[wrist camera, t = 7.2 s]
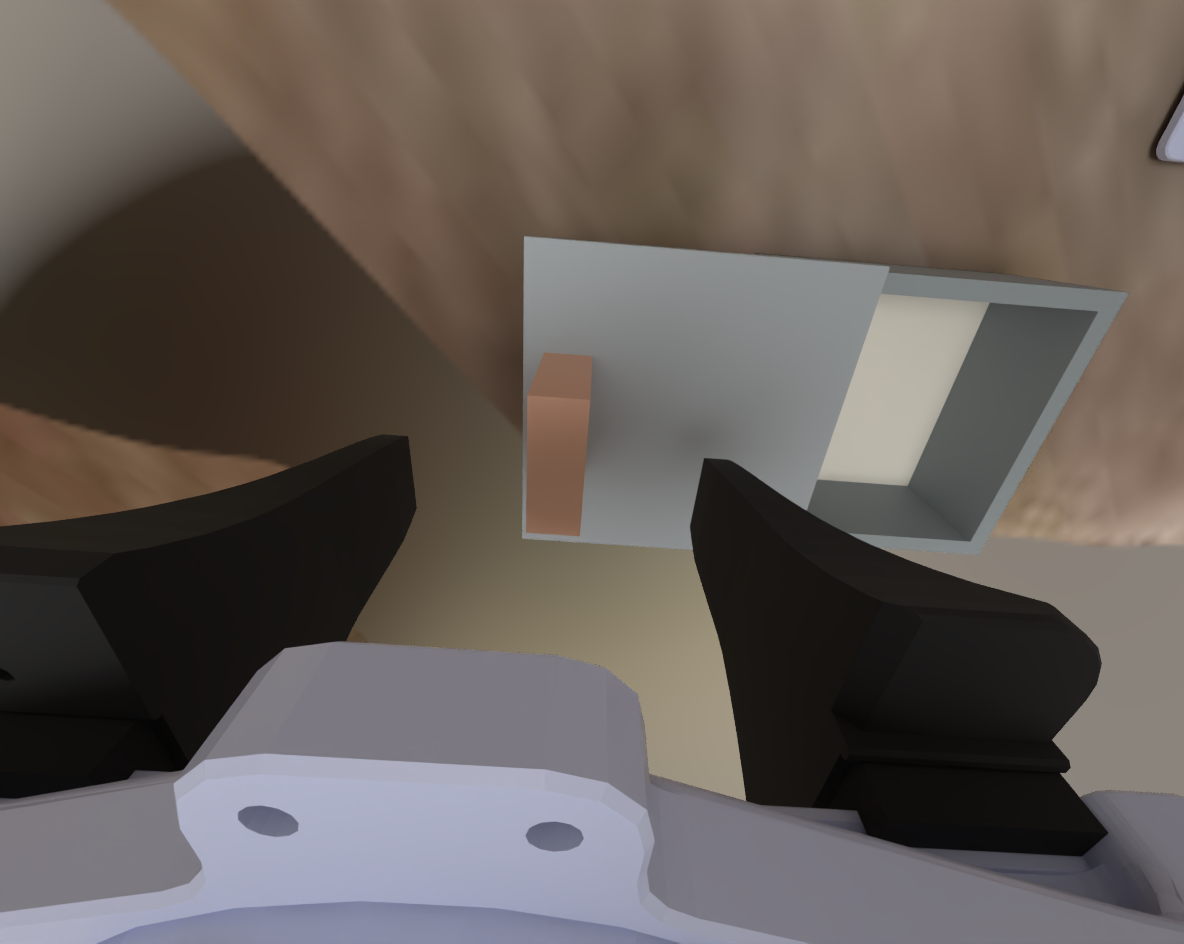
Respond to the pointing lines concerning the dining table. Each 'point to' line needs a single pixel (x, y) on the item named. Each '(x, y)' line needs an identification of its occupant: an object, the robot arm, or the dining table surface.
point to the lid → (677, 379)
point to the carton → (953, 402)
